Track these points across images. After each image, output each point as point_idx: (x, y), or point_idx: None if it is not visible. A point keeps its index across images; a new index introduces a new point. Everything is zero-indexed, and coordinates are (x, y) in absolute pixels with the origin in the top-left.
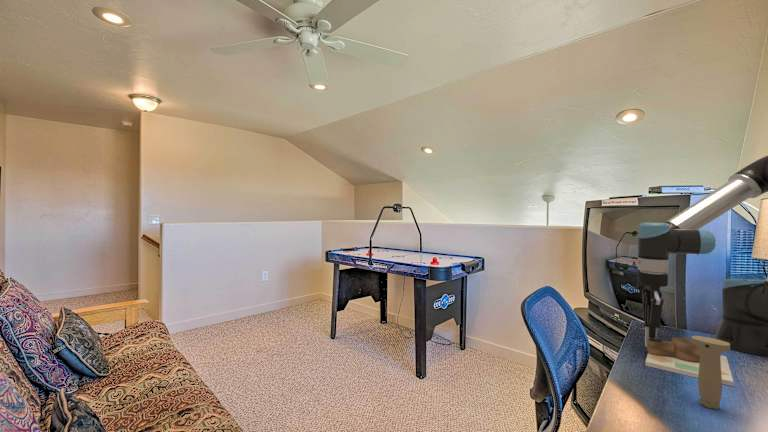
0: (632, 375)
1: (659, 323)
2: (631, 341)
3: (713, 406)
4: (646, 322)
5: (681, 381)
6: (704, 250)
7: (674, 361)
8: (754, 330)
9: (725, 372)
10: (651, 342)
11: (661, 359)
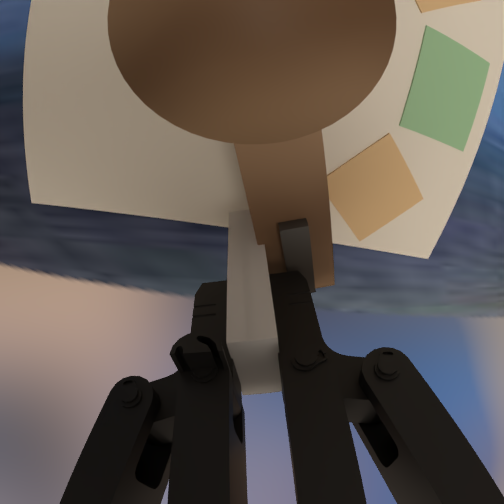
0: (497, 285)
1: (429, 395)
2: (62, 269)
3: None
4: (242, 417)
5: None
6: None
7: (379, 122)
8: None
9: None
10: (333, 275)
11: (381, 188)
